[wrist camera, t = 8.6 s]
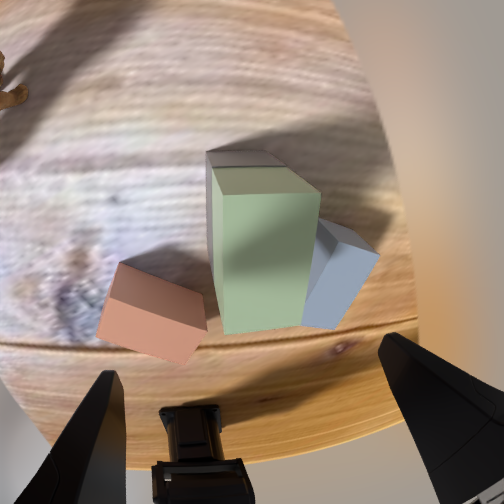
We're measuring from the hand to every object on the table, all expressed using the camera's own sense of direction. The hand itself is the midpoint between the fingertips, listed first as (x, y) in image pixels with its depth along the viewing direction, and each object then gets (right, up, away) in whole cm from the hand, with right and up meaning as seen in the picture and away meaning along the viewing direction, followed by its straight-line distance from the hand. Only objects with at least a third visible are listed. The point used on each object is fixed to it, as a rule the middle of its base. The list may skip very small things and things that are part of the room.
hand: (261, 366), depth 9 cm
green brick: (0, +5, +6) cm, 8 cm away
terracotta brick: (-7, 0, +12) cm, 14 cm away
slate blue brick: (+4, +3, +13) cm, 15 cm away
